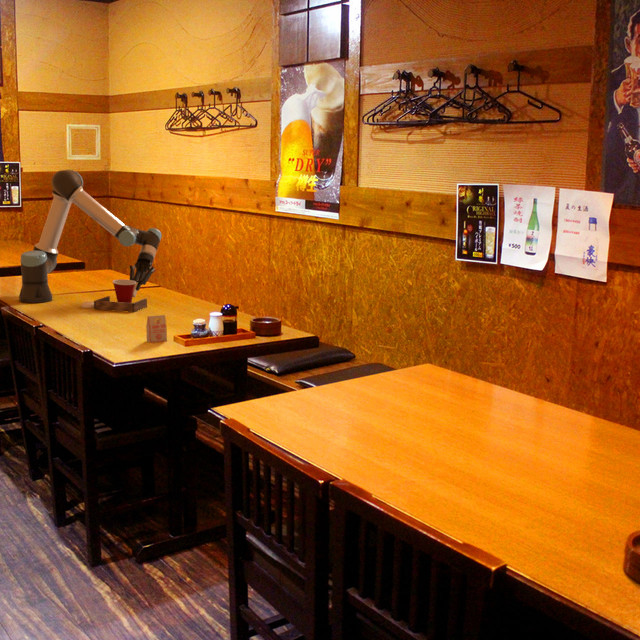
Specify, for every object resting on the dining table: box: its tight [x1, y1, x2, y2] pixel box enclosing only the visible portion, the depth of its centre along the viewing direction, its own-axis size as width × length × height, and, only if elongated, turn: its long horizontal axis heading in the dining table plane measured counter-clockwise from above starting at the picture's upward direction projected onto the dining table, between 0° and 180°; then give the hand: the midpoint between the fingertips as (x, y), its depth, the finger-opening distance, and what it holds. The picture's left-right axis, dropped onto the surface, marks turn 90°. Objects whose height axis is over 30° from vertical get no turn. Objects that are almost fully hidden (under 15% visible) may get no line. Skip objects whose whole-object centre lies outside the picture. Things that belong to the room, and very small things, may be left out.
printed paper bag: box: [145, 314, 168, 344], centre depth 291 cm, size 4×7×10 cm, turn 120°
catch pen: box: [93, 295, 148, 313], centre depth 352 cm, size 20×13×4 cm, turn 77°
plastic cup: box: [112, 278, 136, 303], centre depth 357 cm, size 11×11×12 cm
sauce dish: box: [80, 301, 94, 309], centre depth 354 cm, size 8×8×2 cm
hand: (132, 295), depth 362 cm, fingers closed
